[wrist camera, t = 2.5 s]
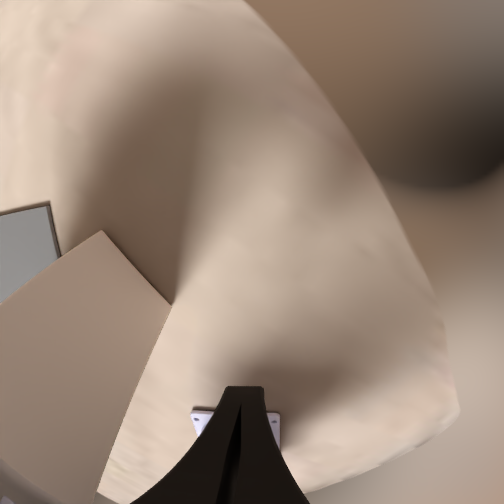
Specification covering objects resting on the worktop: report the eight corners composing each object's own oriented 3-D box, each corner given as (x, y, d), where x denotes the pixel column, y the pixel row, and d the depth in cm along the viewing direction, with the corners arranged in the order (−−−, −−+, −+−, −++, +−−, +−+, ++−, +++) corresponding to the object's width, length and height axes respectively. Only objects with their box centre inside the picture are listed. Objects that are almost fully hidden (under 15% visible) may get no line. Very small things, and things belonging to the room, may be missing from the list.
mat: (97, 360, 22) (95, 363, 22) (-14, 333, 23) (-16, 335, 23) (49, 205, 17) (46, 206, 17) (-50, 228, 19) (-52, 229, 18)
